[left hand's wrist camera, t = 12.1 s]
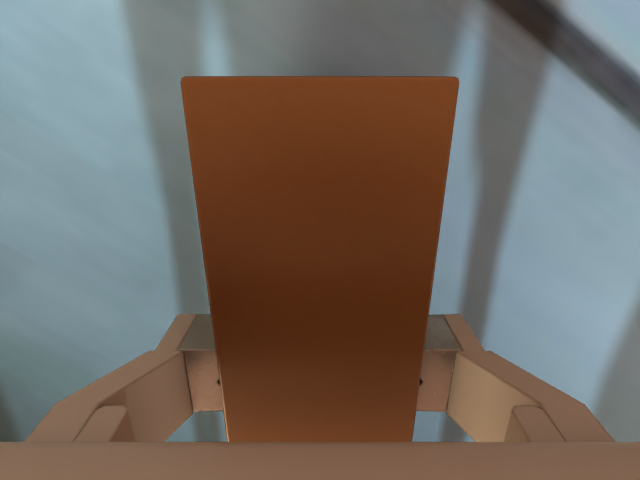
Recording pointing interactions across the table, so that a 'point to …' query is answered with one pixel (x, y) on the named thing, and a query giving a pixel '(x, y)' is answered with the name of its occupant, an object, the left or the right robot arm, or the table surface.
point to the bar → (319, 246)
